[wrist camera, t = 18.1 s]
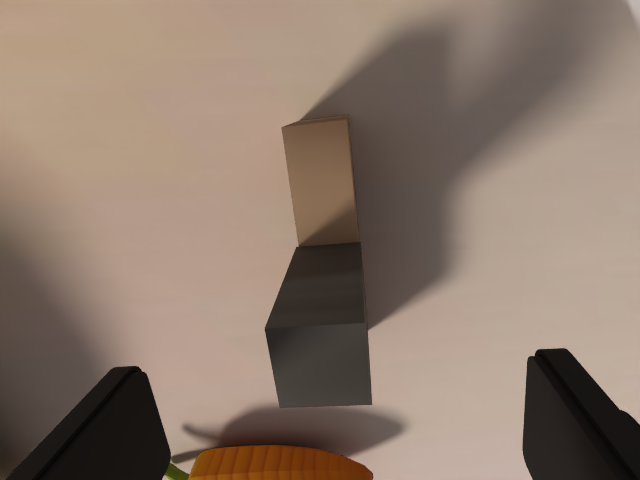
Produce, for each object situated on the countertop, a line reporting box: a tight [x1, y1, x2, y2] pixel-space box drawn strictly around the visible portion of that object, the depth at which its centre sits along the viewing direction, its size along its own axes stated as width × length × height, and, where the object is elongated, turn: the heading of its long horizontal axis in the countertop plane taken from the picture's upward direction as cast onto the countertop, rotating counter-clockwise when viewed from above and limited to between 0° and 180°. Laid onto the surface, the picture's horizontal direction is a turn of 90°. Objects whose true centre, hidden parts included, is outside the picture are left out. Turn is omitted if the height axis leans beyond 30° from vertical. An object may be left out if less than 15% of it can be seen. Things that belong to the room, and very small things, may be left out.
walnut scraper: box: [265, 115, 372, 408], centre depth 16 cm, size 12×3×11 cm, turn 7°
